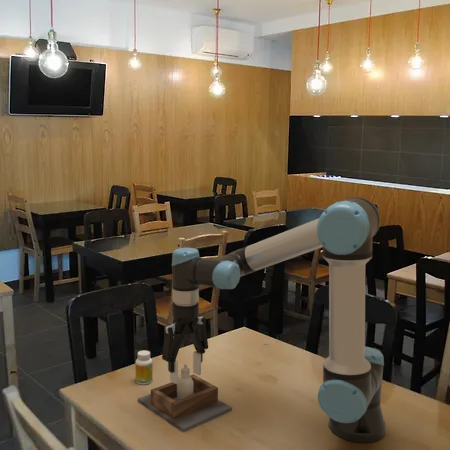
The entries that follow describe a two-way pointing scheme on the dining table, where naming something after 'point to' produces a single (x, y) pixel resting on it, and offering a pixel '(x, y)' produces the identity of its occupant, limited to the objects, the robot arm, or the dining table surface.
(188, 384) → the eye dropper bottle
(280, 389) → the dining table surface
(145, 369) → the supplement bottle
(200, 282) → the robot arm
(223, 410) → the bottle holder
